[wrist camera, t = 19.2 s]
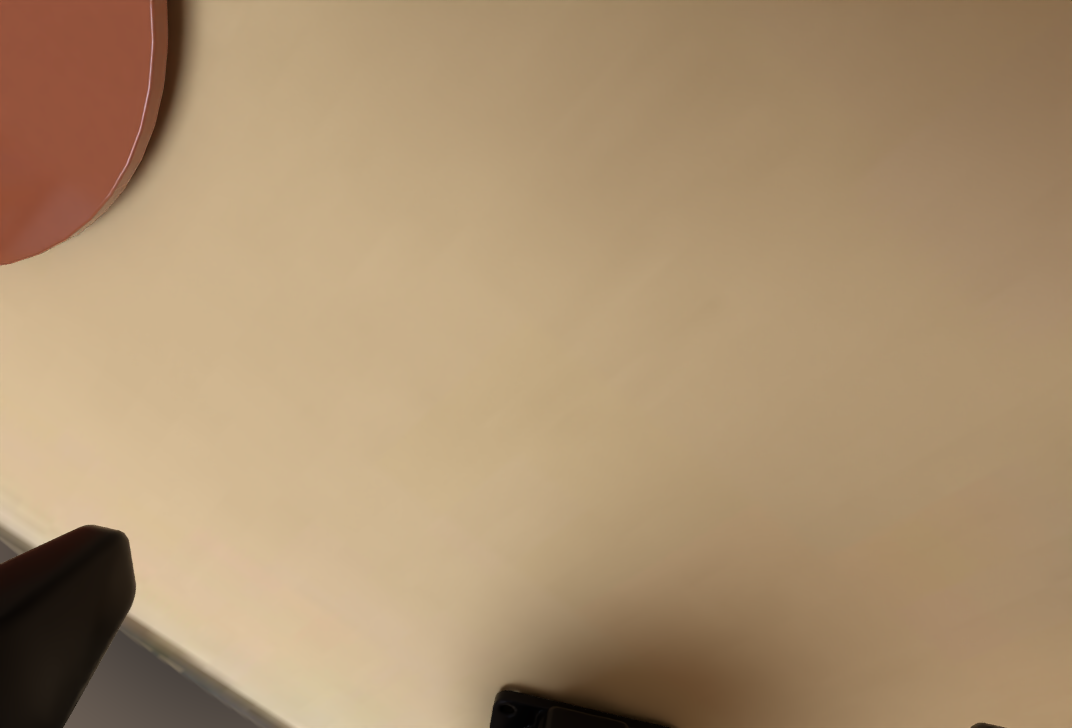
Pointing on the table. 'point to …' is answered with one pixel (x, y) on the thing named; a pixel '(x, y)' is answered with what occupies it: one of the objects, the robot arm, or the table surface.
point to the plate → (73, 112)
